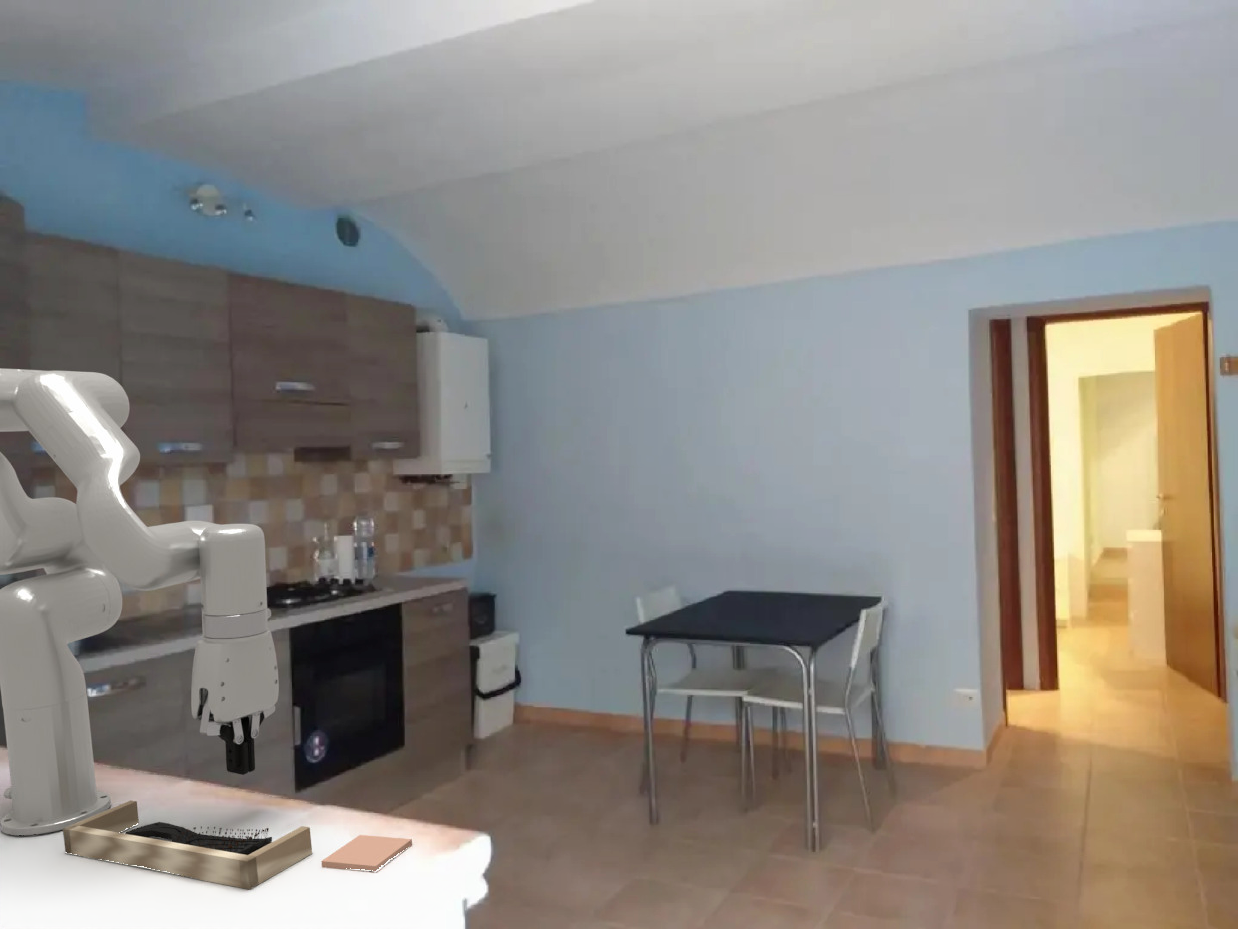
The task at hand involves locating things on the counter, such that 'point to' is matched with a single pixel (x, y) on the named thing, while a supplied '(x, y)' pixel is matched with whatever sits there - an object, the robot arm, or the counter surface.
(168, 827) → the hairbrush
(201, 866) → the u-shaped wooden frame
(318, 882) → the counter surface
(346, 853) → the terracotta tile
